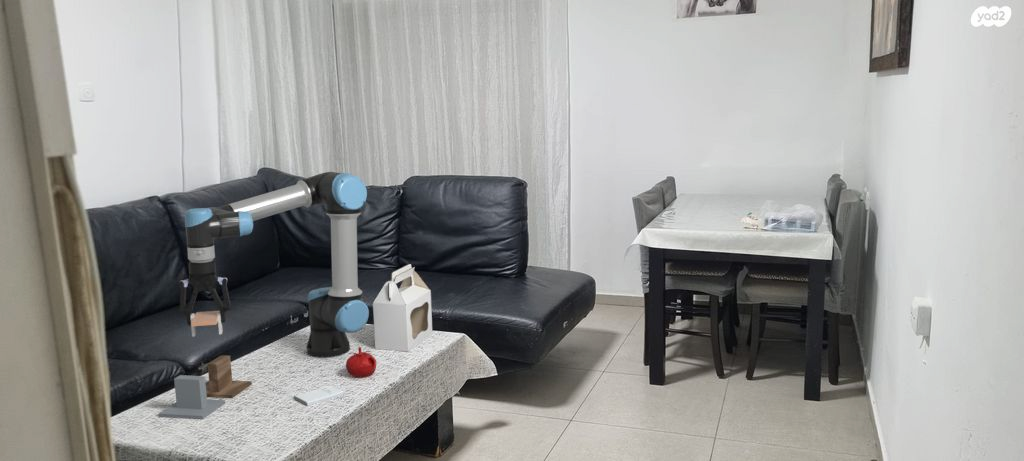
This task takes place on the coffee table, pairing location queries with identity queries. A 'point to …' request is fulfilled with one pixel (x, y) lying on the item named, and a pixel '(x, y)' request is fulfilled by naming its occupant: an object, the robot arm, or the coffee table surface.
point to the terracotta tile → (205, 318)
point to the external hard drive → (318, 395)
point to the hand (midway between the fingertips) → (207, 334)
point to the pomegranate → (361, 364)
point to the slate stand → (191, 399)
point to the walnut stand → (223, 379)
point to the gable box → (402, 312)
